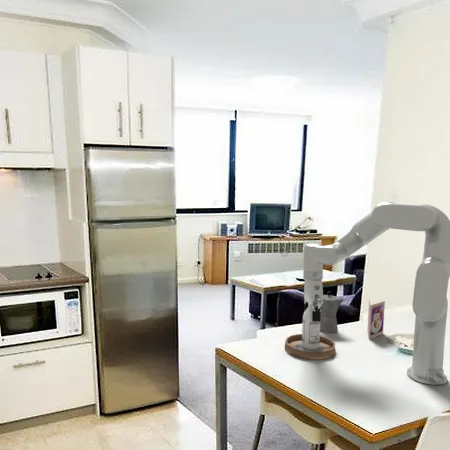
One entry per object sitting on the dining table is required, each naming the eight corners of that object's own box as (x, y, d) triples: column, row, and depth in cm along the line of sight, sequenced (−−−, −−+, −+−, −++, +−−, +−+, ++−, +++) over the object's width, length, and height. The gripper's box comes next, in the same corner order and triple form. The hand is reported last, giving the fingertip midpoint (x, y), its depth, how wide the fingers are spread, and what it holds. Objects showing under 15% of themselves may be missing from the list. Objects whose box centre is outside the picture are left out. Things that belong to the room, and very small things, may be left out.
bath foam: (322, 347, 168) (324, 298, 167) (313, 351, 163) (315, 301, 162) (307, 342, 173) (309, 294, 171) (298, 346, 168) (300, 298, 166)
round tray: (343, 359, 160) (344, 351, 160) (292, 360, 158) (292, 353, 157) (324, 339, 180) (325, 333, 180) (279, 341, 177) (279, 334, 177)
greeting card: (370, 339, 181) (372, 305, 180) (355, 334, 187) (357, 301, 185) (384, 334, 188) (386, 301, 187) (369, 329, 194) (371, 297, 193)
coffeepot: (343, 328, 195) (345, 290, 193) (340, 335, 186) (342, 295, 184) (310, 323, 201) (311, 286, 199) (306, 329, 192) (307, 291, 190)
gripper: (330, 279, 158) (329, 323, 159) (314, 270, 175) (313, 310, 176) (310, 279, 157) (310, 324, 158) (297, 270, 174) (296, 311, 175)
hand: (312, 317), depth 167 cm, fingers open, 9 cm apart
